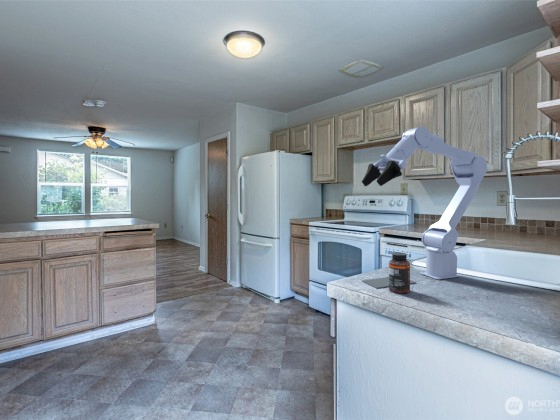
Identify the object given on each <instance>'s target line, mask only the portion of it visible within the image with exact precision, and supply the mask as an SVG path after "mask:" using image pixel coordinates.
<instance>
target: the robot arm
mask: <svg viewBox="0 0 560 420" xmlns="http://www.w3.org/2000/svg"><path fill="white" fill-rule="evenodd" d="M418 149H419V150H422V151H424V152H427V153H429V154H431V155H437V154H440V155H443V156H444V157H445V158H448V159H450V161H449V166H450V167H451V172H452V174H453V177H454V180H455V181H456V183H457V184H458V185H459V186H458V189H457V190H456V192H455V194H454V195H453V197H452V199H451V201H450V202H449V204H448V206H447V207H446V209H445V211H444V212H443V214H442V215H441V217H440V219H439V221H437V222H434V223H433V224H431V225H429V228H428V229H426V230H425V231H423V233H422V235H421V244H422V245H423V246H424V249H426V261H425V265H426V267H425V271H420V272H419V274H421V275H424V276H426V277H429V278H431V279H435V280H444V279H452V278H459V276H460V275H459V274H458V256H457V254H456V252H455V251H454V249H455V247H456V244H457V240H458V238H459V236H460V235H459V233H458V231H457V230H456V229H457V226H458V224H459V222H460V221H461V219H462V218H463V216H464V214H465V212H466V211H467V208H468V207H469V205H470V203H471V202H472V200H473V199H474V197H475V195H476V194H477V192H478V190H479V188H480V185H481V183H482V180H483V179H484V177H485V175H486V174H487V172H488V170H489V169H488V163H487V160H486V159H485V157H484V156H482V155H478V153H476V152H473V151H468V150H464V149H462V148H459V147H457V146H453V145H450V144H447V143H445V140H444V139H443V138H442V137H440V136H439V134H438V133H432V132H430V130H429V128H428V127H426V126H418V127H414V128H410V129H408V130H406V131H404V132H403V133H402V136H401V139H400V140H399V141H398V142H397V143H396V144H395V145H394V146H393V147H392V149H390V151H388V153H387V154H381V155H380V156H379V158H380V159H379V160H378V161H377V162H376V163H369V164H368V166H367V170H366V173H365V175H364V177H363V178H362V180H361V183H362V184H363V186H364V187H368V186H369V185H370V184H372V183H373V182H374V181H376V183H377V184H378V185H379V186H380V187H382V186H384V185H385V184H387V183H389V182H390V181H392V180H394V179H396V178H399V177H402V176H403V173H402V171H401V170H404V169H406V167H407V166H408V163H407V162H406V161H407V160H408V159H409V158H410V157H411V156H412V155H413V154H414V153H415V152H416V151H417V150H418ZM381 171H382V172H381Z"/></svg>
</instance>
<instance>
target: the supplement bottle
mask: <svg viewBox="0 0 560 420" xmlns="http://www.w3.org/2000/svg"><path fill="white" fill-rule="evenodd" d="M391 256H392V257H391V259H390V260H388V261H389V262H388V277H389V287H388V289H389V291H391V292H392V293H396V294H408V293H409V292H410V290H411V284H410V280H411V263H410V261H409V260H407V258H408V257H407V253H405V252H401V251H400V252H398V251H397V252H392V254H391Z"/></svg>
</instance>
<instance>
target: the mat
mask: <svg viewBox="0 0 560 420" xmlns="http://www.w3.org/2000/svg"><path fill="white" fill-rule="evenodd" d="M361 282H362V283H364V284H367V285H369V286H370V287H373V289H374V288H375V289H384V288H389V276H385V277H378V278H371V279H362V280H361ZM412 284H417V282H416V281H415V280H414V281H413V280H411V279H410V285H412Z"/></svg>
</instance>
